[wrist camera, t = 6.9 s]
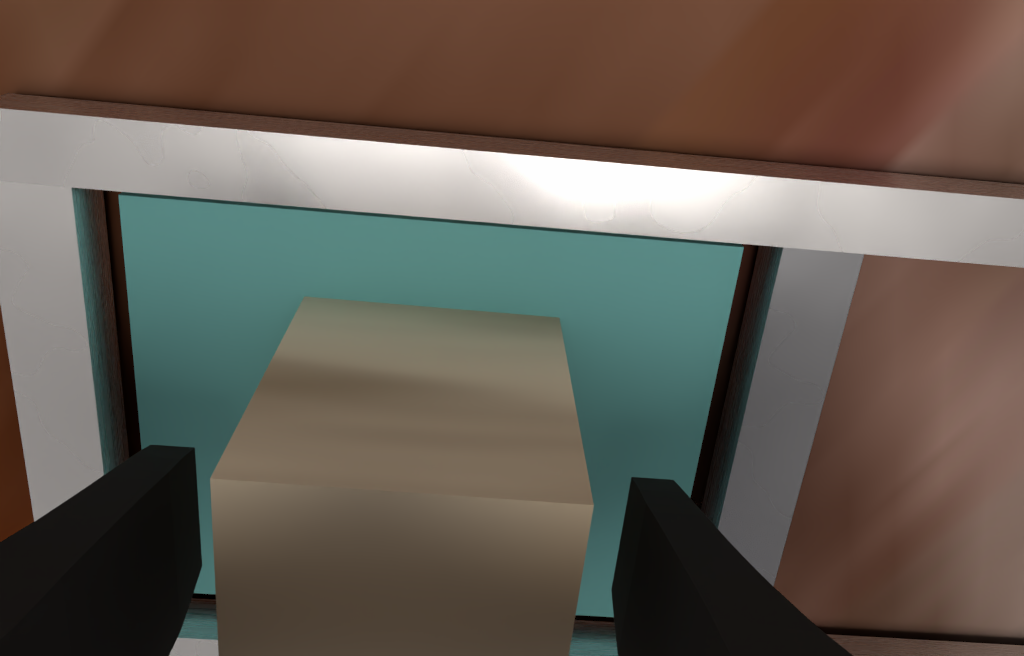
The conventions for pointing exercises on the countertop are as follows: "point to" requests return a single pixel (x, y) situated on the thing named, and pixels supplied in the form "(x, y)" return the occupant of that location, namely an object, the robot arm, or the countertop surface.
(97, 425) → the rail frame
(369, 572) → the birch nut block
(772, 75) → the countertop surface
